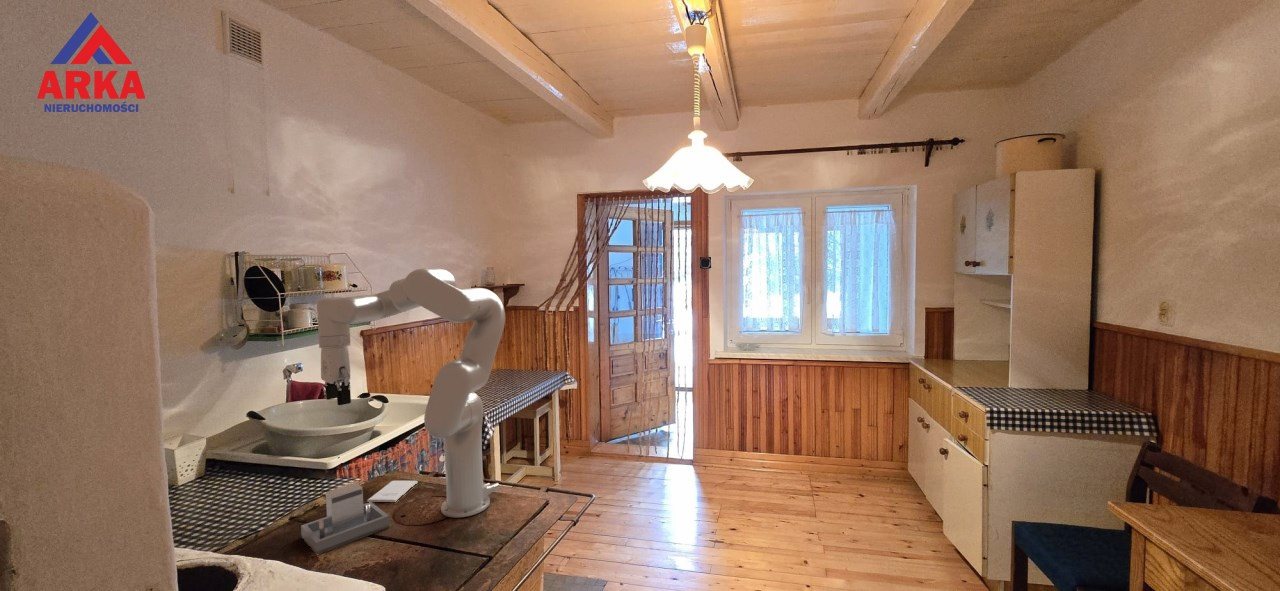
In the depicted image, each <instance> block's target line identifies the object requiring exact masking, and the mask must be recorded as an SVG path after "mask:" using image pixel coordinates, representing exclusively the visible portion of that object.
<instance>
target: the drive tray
mask: <svg viewBox="0 0 1280 591" xmlns="http://www.w3.org/2000/svg"><path fill="white" fill-rule="evenodd" d="M363 506H364V523H363V524H360V525H358V526H355V527H352V528H350V529H347V530H344V531H341V532H339V533H336V534H333V535H330V534H329V533H328V526H327V516H325V517H322V518H319V519H316V520H314V521H310V522H307V523H304V524H302V525H300V526H301V527H300V531H301V533H300V534H301V538H302V540H303V539H304V543H306V544H307V546H308V547H309V546H310V547H311V548H312V549H311V548H310V547H309V548H310V549H311V550H312V552H313V553H314V552H315V553H316V554H315V553H314V554H315V555H316V556H318V555H317V554H319V555H321V554H320V553H322V554H324V553H323V552H325V553H327V552H329V551H332V550H335V549H337V548H339V547H343V546H345V545H347V544H350V543H353V542H356V541H358V540H361V539H363V538H366V537H369V536H371V535H373V534H377V533H378V532H381V531H384V530H387V529H389V528H390V524H391V523H390V515H389V514H388V513H387V512H386V511H384V510H382V509H381V508H380V507H379V506H377V505H376V503H372V502H369V503H363ZM326 551H327V552H326Z"/></svg>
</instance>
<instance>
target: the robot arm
mask: <svg viewBox="0 0 1280 591" xmlns="http://www.w3.org/2000/svg"><path fill="white" fill-rule="evenodd" d="M456 284H457V283H456V279H455V277H454V275H453V274H452V273H451V272H450V271H448V270H446V269H443V268H417V269H415V270H411V272H409V273H408V274H407V275H406V277H404V278H402V279H397V280H395V281H393V282H392V283H391V284H390V286H389V289H388V290H384V291H381V292H377V293H375V294H366V295H364V294H363V295H357V296H355V295H354V296H347V297H346V296H345V297H341V296H333V297H332V296H331V297H329V296H328V297H322V298H319V299H318V300H317V303H316V311H317V312H316V314H317V329H318V331H317V332H318V347H319V349H320V350H321V351H320V379H321V380H322V381H324V385H325V387H324V388H325V389H324V390H325V399H326V400H327V401H328V400H329V401H330V400H333V399H337V400H336V402H337V403H336V404H337V405H338V406H342V405H343V406H344V405H348V404H351V403H352V396H351V382H350V379H351V364H350V363H351V362H350V355H349V354H350V353H349V346H351V332H350V330H351V329H350V325H355V324H362V323H367V322H374V321H379V320H382V319H387V318H389V317H393V316H396V315H399V314H401V313H405V312H407V311H410V310H413V309H416V308H419V307H422V308H424V309H426V310H428V311H429V312H431V313H432V314H434V315H436V316H438V317H440V318H441V319H444V320H446V321H448V322H451V323H454V324H463V323H467V322H473V324H472V326H471V327H470V330H469V331H468V333H467V335H466V336H465V340H464V345H463V347H462V349H461V353H460V355H459V357H458V358H456V359H454V360H451V361H448V362H447V363H445V364H444V365H442V367H441V368H440V369H439V370H438V372H437V374H436V376H435V377H434V380H433V384H432V388H431V390H430V394H429V397H428V401H427V403H426V404H427V405H426V408H425V412H424V417H423V421H424V427H425V429H426V431H427V433H428V434H429V435H430V436H431V437H432V438H435V439H440V440H441V439H442V440H444V467H445V469H444V470H445V471H444V472H445V489H446V490H445V491H446V492H445V493H446V500H444V502H443V503H442V504H441V506H440V512H441V514H442V515H444V516H445V517H449V518H458V519H459V518H465V517H471V516H474V515H478V514H479V513H481V512H483V511H485V510H486V509H487V508H488V507H489V506H490V503H491V497H490V496H489V495H490V494H491V493H493V492H496V491H499V490H500V489H501V487H500V484H499V482H495V483H493V484H491V483H490V482H487V483H484V472H483V471H484V470H483V469H484V468H483V450H482V449H483V444H482V443H483V442H482V441H483V440H482V434H483V433H482V430H483V428H482V427H483V421H484V419H483V418H484V403H483V401H482V398H481V397H480V396H479V395H478V394H477V393H475V392H476V391H479V390H480V389H482V388H483V387H485V385H486V384H487V383H488V382H489V378H490V375H491V371H492V368H493V365H494V361H495V358H496V355H497V351H498V348H499V344H500V341H501V337H502V335H503V332H504V327H505V324H506V312H505V311H506V310H505V307H504V304H503V302H502V300H501V299H500V297H499V296H498V295H497V294H496V293H494V292H493V291H492V290H490V289H488V288H484V287H470V288H457V287H456V286H457V285H456Z"/></svg>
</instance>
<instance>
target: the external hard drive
mask: <svg viewBox="0 0 1280 591" xmlns="http://www.w3.org/2000/svg"><path fill="white" fill-rule="evenodd" d="M417 483H418V481H417V480H391V481H390V482H388V483H387V484H386V485H385V486H384V487H382V488H381V489H380V490H378V491H377V492H376V493H374V494H373V495H372V496H371V497H370V498H368V499H367V500H366V502H396V501H397V500H398V499H399V498H400V497H401V496H402V495H404V494H405V493H406V492H407V491H408V490H409V489H410V488H411V487H413V486H414V485H415V484H417ZM417 485H418V484H417ZM413 488H414V487H413ZM405 495H406V494H405ZM405 495H404V496H405ZM398 501H399V500H398ZM398 501H397V502H398ZM397 502H396V503H397Z"/></svg>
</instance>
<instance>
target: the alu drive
mask: <svg viewBox="0 0 1280 591" xmlns="http://www.w3.org/2000/svg"><path fill="white" fill-rule="evenodd" d="M325 504H326V505H325V507H326V508H325V509H326V517H327V526H328V533H329V534H330V535H333V534H336V533H339V532H341V531H344V530H347V529H350V528H352V527H355V526H358V525H360V524H363V523H364V506H363V504H364V492H363V486H362V485H360V484H359V483H357V482H356V483H353V484H350V485H346V486H341V487H338V488H336V489H332V490H329V491H325Z"/></svg>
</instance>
